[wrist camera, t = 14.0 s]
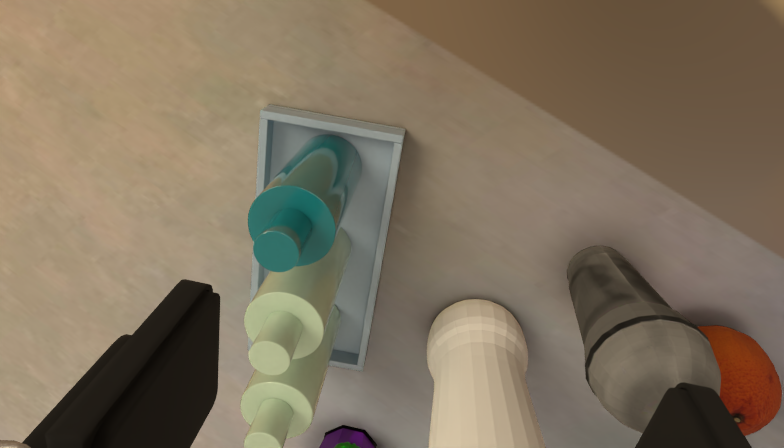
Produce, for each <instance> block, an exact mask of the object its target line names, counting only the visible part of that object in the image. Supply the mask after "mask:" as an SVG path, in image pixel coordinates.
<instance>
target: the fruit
mask: <svg viewBox="0 0 784 448" xmlns="http://www.w3.org/2000/svg"><path fill="white" fill-rule="evenodd" d="M698 328H699V329H700V330H701V331H702V332H703V333H704V334H705V335H706V336H707V337H708V340H709V342H710V345H711V347H712V350H713V353H714V356H715V358H716V361H717V363H718V366H719V369H720V374H721V386H720V396H719V397H720V398H721V400H722V401H723V403H724V405H725V406H726V408H727V409H728V411H729V413H730V414H731V416H732V417H733V419H734V420H735V422H736V424H737V425H738V427H739V428H740V430H741V431H742V433H743V435H744V436H746V435H749V434H751V433H754V432H756V431H758V430H760V429H761V428H762V427H764V426H765V425H767V424H768V423H769V422H770V421H771V420H772V419H773V418H774V417H775V415H776V414H777V412H778V410H779V408H780V404H781V395H782V390H781V384H780V380H779V376H778V374H777V372H776V370H775V367H774V365H773V363H772V362H771V360H770V358H769V357H768V355H767V354H766V353H765V351H764V350H763V349H762V348H761V347H760V345H759V344H758V343H757V342H756V341H755V340H754V339H752V338H751V337H749V336H748V335H746V334H744V333H741V332H738V331H736V330H734V329H731V328H728V327H724V326H717V325H715V326H699V327H698Z"/></svg>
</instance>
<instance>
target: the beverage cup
mask: <svg viewBox="0 0 784 448" xmlns="http://www.w3.org/2000/svg"><path fill="white" fill-rule="evenodd" d="M567 278H568V280H569V290H570V293H571V297H572V301H573V305H574V309H575V313H576V317H577V320H578V324H579V328H580V332H581V336H582V340H583V344H584V348H585V370H586V380H587V382H588V384H589V386H590V388H591V390H592V392H593V393H594V394H595V395H596V396H597V397H598V399H599V401H600V402H601V404H602V405H603V406H604V408H605V409H606V410H607V411H609V412H610V413H611V414H612V415H613V416H614V417H615V418H616V419H618V420H619V421H620V422H621V423H622V424H624V425H626V426H627V427H630V428H632V429H634V430H636V431H639V432H641V433H643V432H644V431H645V429H646V427H647V425H648V423H649V421H650V420H651V418H652V416H653V414H654V412H655V411H656V409H657V407H658V405H659V403H660V402H661V400H662V398H663V396H664V394H665V392H666V391H667V390H668V389H669V388H675V387H676V385H677V384H679V383H683V382H685V383H689V384H694V385H699V386H704V387H709V388H712V389H714V390H715V391H716V392H717V394H718V395H719V396H720V386H721V374H720V369H719V366H718V363H717V361H716V358H715V356H714V353H713V350H712V347H711V345H710V342H709V340H708V337H707V336H706V335H705V334H704V333H703V332H702V331H701V330H700V329H699V328H698V327H697V326H696V325H694V324H692V323H690V322H689V321H688V320H687V319H686V318H684V317H683V316H682V315H681V314H679V313H678V312H677V311H675V310H673V309H672V308H671V307H670V306H669V305H668V304H667V303H666V302H665V301H664V300H663V298H662V297H661V296H660V295H659V294H658V293H657V292H656V291H655V290H654V289H653V288H652V287H651V286H650V285H649V283H648V282H647V281H646V280H645V279H644V278H643V277H642V276H641V275H640V274H639V273H638V272H637V271H636V269H635V268H634V267H633V266H632V265H631V264H630V263H629V262H628V261H627V260H626V259H625V258H623V257H622V256H621V255H620V254H619V253H618V252H617V251H616V250H614V249H612V248H610V247H605V246H594V247H589V248H586V249H584V250H582V251H580V252H579V253H578V254H576V255H575V256H574V257H573V259H572V260H571V261H570V263H569V266H568V269H567Z"/></svg>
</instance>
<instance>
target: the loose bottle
mask: <svg viewBox="0 0 784 448" xmlns="http://www.w3.org/2000/svg"><path fill="white" fill-rule="evenodd" d="M361 175H362V161H361V158H360V155H359V153H358V152H357V150H356V149H355V147H354V146H353V145H352V144H351V143H350V142H348V141H347V140H346V139H344V138H342V137H339V136H336V135H332V134H322V135H318V136H315V137H312V138H311V139H309V140H308V141H307V142H305V143H304V145H303V146H302V147H301V148H300V149H299V150H298V151H297V153H296V154H295V155H294V156H293V157H292V158H291V159H290V160H289V162H288V163H287V164H286V165H285V166H284V167H283V168H282V170H281V171H280V172H279V173H278V174H277V175H276V176H275V178H274V179H273V180H272V181H271V182H270V183H269V184H268V185H267V187H266V188H265V189H264V190H263V191H262V192H261V193H260V195H259V196H258V197H257V198H256V199H255V200H254V202H253V203H252V205H251V208H250V210H249V214H248V227H249V232H250V235H251V237H252V240H253V241H254V245H253V252H254V256H255V258H256V260H257V261H258V263H259V264H260V265H261V266H263V267H264V268H265V269H267V270H269V271H272V272H286V271H289V270H291V269H292V268H293V267H294V266H306V265H310V264H312V263H315V262H317V261H319V260H320V259H322V258H323V257H324V256H325V255H326V254H327V253H328V252H329V250H330V249H331V247H332V245H333V243H334V241H335V238H336V236H337V234H338V231H339V229H340V226H341V224H342V222H343V219H344V217H345V215H346V212H347V210H348V207H349V205H350V203H351V200H352V198H353V195H354V193H355V191H356V188H357V186H358V184H359V181H360V179H361Z"/></svg>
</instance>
